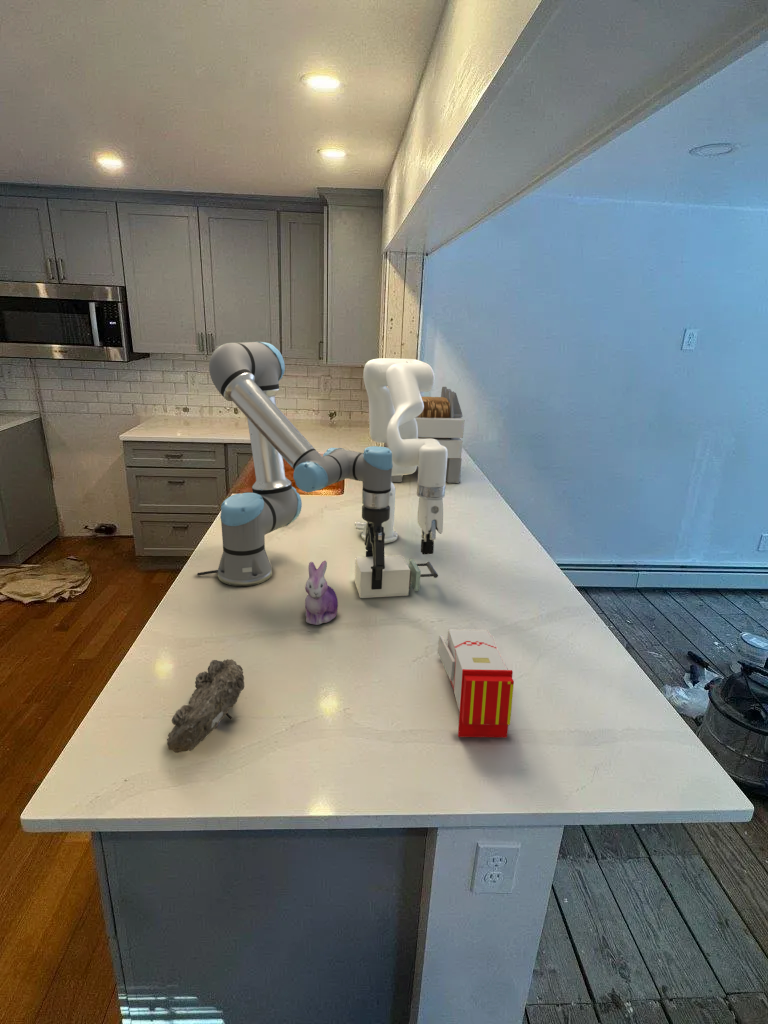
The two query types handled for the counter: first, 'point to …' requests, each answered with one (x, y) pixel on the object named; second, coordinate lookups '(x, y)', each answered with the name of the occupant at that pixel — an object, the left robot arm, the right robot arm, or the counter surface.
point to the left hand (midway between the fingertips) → (373, 580)
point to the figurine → (319, 597)
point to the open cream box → (383, 577)
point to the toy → (478, 682)
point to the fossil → (206, 705)
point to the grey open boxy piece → (442, 430)
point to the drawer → (419, 573)
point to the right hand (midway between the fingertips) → (426, 553)
